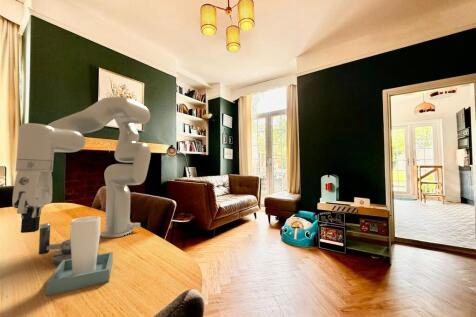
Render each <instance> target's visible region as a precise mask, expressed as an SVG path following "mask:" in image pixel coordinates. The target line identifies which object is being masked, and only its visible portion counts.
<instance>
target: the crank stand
mask: <svg viewBox="0 0 476 317" xmlns="http://www.w3.org/2000/svg"><path fill="white" fill-rule="evenodd" d="M67 259H72V258H71V253H66V254H64V253H61V249H60V250H59V249H58V250H57V251H56V252H54V253H53V254H52V263H51V264H52V265H53V266H57V267H58V266H59V265H60V263H61V262H62V260H67Z"/></svg>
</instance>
